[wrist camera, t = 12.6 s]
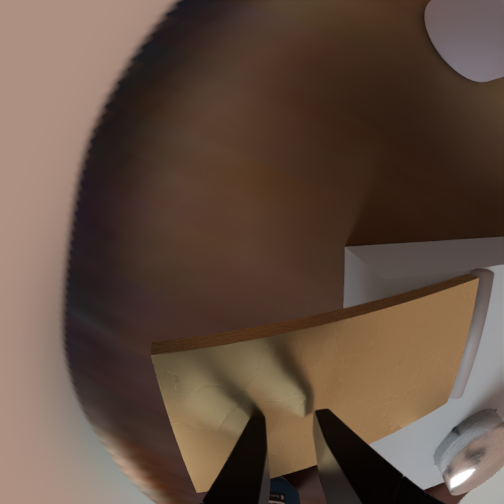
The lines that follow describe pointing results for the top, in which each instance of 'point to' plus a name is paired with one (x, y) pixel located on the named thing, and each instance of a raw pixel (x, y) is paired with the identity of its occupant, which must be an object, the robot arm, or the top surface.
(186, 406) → the plate
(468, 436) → the steel pin
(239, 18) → the top surface
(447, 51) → the spray bottle
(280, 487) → the soda can
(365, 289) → the block
